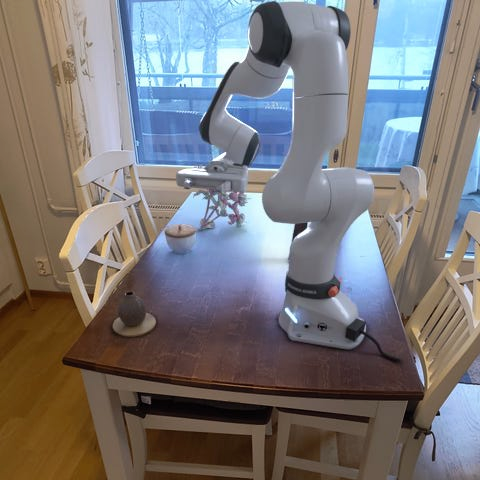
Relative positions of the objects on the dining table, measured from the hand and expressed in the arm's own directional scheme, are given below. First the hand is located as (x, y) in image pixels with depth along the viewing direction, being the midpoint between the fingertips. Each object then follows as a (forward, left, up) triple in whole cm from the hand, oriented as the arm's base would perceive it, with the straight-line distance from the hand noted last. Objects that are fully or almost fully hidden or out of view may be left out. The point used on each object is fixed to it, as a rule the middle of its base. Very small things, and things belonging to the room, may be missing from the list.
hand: (202, 187), depth 112 cm
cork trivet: (+6, +27, -30) cm, 40 cm away
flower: (+19, -46, -30) cm, 58 cm away
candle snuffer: (-16, -30, -33) cm, 48 cm away
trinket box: (+21, -18, -30) cm, 41 cm away
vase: (+6, +27, -29) cm, 40 cm away
